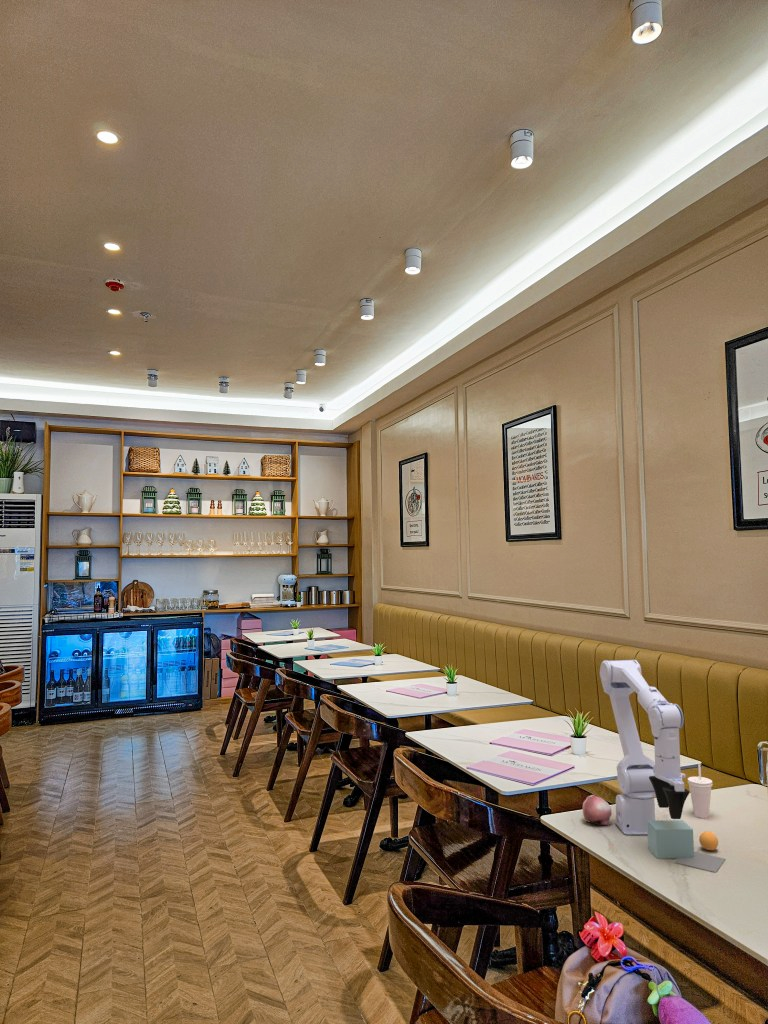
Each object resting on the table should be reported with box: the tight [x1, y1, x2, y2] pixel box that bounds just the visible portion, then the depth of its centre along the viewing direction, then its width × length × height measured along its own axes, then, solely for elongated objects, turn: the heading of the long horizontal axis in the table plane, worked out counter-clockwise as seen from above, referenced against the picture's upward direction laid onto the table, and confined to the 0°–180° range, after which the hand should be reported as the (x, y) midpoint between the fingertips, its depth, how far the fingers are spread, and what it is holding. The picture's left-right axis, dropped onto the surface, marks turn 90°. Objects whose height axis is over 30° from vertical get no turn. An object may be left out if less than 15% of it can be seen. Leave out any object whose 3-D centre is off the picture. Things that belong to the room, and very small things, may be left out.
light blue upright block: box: [647, 819, 695, 859], centre depth 168 cm, size 9×6×7 cm
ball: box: [698, 831, 719, 851], centre depth 170 cm, size 4×4×4 cm
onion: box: [582, 794, 612, 826], centre depth 189 cm, size 8×8×7 cm
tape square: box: [674, 851, 726, 873], centre depth 163 cm, size 9×9×1 cm
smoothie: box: [687, 763, 713, 819], centre depth 193 cm, size 6×6×14 cm
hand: (669, 812), depth 169 cm, fingers open, 7 cm apart
